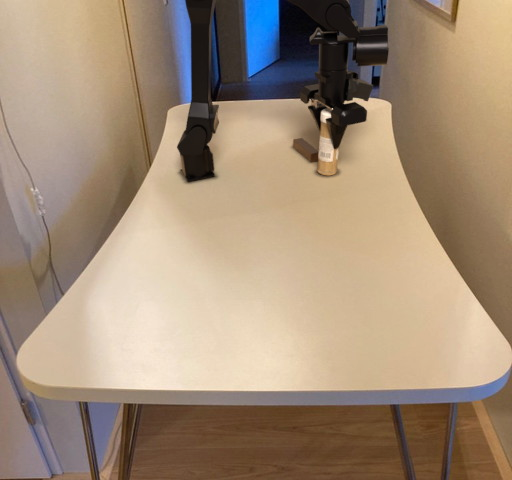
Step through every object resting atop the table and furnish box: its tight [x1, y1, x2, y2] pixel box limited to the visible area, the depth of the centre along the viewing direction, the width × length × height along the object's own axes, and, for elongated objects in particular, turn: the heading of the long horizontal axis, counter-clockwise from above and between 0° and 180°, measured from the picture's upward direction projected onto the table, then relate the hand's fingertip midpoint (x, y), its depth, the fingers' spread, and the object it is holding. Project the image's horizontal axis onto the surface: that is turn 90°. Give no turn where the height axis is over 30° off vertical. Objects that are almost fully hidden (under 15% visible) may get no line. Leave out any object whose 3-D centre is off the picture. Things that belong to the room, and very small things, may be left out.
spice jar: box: [316, 108, 340, 176], centre depth 119 cm, size 5×5×14 cm
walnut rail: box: [292, 137, 319, 163], centre depth 131 cm, size 2×10×2 cm, turn 21°
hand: (330, 144), depth 119 cm, fingers closed on spice jar, 4 cm apart
